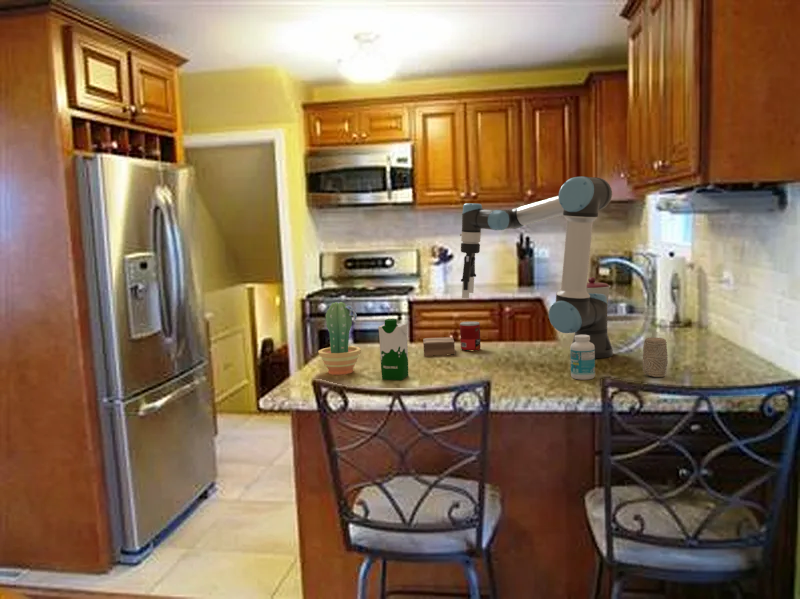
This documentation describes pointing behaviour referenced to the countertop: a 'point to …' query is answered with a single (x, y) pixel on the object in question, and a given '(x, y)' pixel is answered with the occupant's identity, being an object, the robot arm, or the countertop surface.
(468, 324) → the canned food
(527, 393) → the countertop surface
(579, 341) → the pill bottle
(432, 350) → the block
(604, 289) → the canister
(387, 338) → the milk carton
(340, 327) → the potted cactus
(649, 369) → the carving
